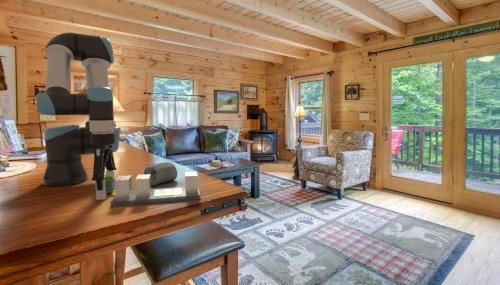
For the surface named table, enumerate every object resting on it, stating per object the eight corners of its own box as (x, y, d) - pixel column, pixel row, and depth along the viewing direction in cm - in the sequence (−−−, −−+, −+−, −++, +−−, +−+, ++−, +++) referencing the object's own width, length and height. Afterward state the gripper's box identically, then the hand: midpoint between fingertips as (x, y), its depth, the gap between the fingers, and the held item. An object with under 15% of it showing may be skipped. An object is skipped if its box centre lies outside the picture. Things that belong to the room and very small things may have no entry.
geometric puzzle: (117, 190, 91) (115, 169, 94) (94, 193, 87) (93, 171, 91) (117, 197, 96) (116, 177, 99) (95, 200, 93) (95, 180, 96)
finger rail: (118, 195, 92) (117, 174, 91) (197, 189, 99) (197, 170, 98) (110, 206, 81) (109, 182, 80) (200, 199, 88) (199, 177, 87)
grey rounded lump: (152, 181, 98) (150, 156, 102) (139, 188, 103) (138, 164, 107) (183, 182, 108) (181, 160, 112) (170, 189, 113) (168, 167, 117)
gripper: (105, 135, 80) (109, 203, 83) (121, 130, 104) (124, 183, 107) (77, 136, 78) (82, 206, 81) (100, 130, 102) (103, 184, 105)
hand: (106, 193), depth 94 cm, fingers open, 12 cm apart
